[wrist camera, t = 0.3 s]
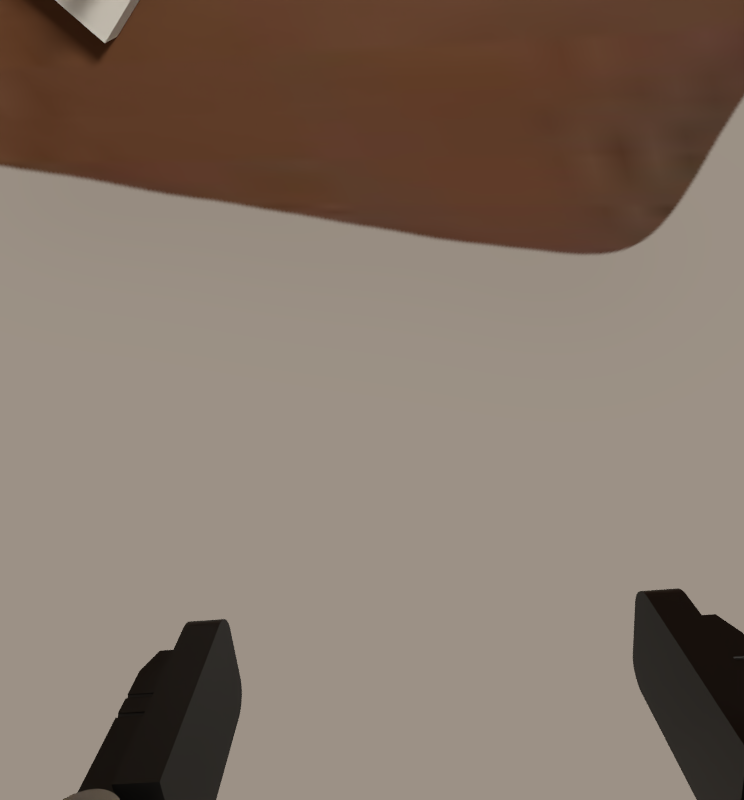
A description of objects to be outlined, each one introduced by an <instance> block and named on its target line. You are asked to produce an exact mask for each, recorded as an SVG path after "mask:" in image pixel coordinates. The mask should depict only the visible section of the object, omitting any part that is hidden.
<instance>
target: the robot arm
mask: <svg viewBox="0 0 744 800" xmlns="http://www.w3.org/2000/svg"><path fill="white" fill-rule="evenodd" d="M633 645H634V646H633V664H634V670H635V675H636V679H637V682H638V685H639V688H640V690H641V692H642V694H643V696H644V698H645V700H646V702H647V704H648V706H649V708H650V710H651V712H652V714H653V716H654V718H655V720H656V721H657V723H658V725H659V727H660V729H661V731H662V733H663V735H664V737H665V739H666V741H667V743H668V745H669V747H670V749H671V751H672V752H673V754H674V756H675V758H676V760H677V762H678V764H679V766H680V768H681V770H682V772H683V774H684V776H685V778H686V780H687V782H688V784H689V785H690V787H691V789H692V791H693V793H694V795H695V797H696V799H697V800H744V634H743V633H742V632H741V631H739V630H738V629H736V628H735V627H733V626H732V625H730V624H729V623H727V622H726V621H724V620H723V619H721V618H720V617H718V616H717V615H715V614H714V615H701V614H700V612H699V611H698V610H697V608H696V607H695V606H694V604H693V603H692V602H691V600H690V599H689V598H688V597H687V595H686V594H685V593H684V592H683V591H682V590H681V589H667V590H652V591H640V592H638V594H637V596H636V601H635V621H634V644H633ZM241 697H242V689H241V679H240V675H239V669H238V665H237V660H236V655H235V650H234V646H233V641H232V636H231V631H230V627H229V624H228V622H227V621H226V620H225V619H221V620H208V621H193V622H188V623H186V625H185V626H184V628H183V630H182V632H181V635H180V637H179V639H178V641H177V643H176V646H175V648H174V650H165V651H159V652H158V654H156V655H155V657H153V658H152V659H151V660H150V661H149V662H148V663H147V664H146V666H144V667H143V668H142V669H141V670H140V672H139V673H138V676H137V677H136V679H135V681H134V683H133V685H132V687H131V689H130V691H129V693H128V698H127V699H125V701H124V703H123V705H122V707H121V709H120V711H119V713H118V718H115V720H114V722H113V724H112V726H111V729H110V730H109V732H108V734H107V736H106V738H105V740H104V742H103V744H102V746H101V748H100V750H99V752H98V754H97V756H96V758H95V760H94V762H93V764H92V765H91V768H90V769H89V771H88V773H87V775H86V777H85V779H84V781H83V783H82V785H81V787H80V789H79V791H78V792H77V793H76V794H73V795H71V796H69V797H67V798H65V799H63V800H216V798H217V794H218V790H219V787H220V783H221V780H222V776H223V773H224V769H225V765H226V762H227V758H228V755H229V751H230V747H231V743H232V740H233V736H234V733H235V729H236V726H237V722H238V718H239V714H240V709H241Z"/></svg>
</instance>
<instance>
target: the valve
mask: <svg viewBox="0 0 744 800" xmlns="http://www.w3.org/2000/svg"><path fill="white" fill-rule="evenodd" d="M55 1H56V2H58V3H59V4H60V5H61V6H62V7H63V8H64V9H66V10H67V11H68V12H69V13H70V14H71V15H73V16H74V17H75V18H76V19H77V20H78V21H80V22H81V23H82V24H83V25H84V26H85V27H86V28H88V29H89V30H90V31H91V32H92V33H93V34H95V35H96V36H97V37H98V38H99V39H100V40H101V41H103V42H104V43H106V42H108V41H110V40H112V39H114V38H116V37H117V36H118V35H119V33H120V31H121V30H122V28H123V26H124V25H125V23H126V21H127V20H128V18H129V16H130V15H131V13H132V11H133V10H134V8H135V7H136V5H137V3H138V2H139V0H55Z"/></svg>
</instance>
